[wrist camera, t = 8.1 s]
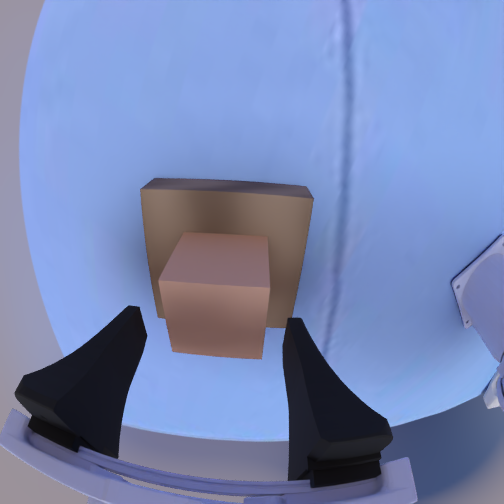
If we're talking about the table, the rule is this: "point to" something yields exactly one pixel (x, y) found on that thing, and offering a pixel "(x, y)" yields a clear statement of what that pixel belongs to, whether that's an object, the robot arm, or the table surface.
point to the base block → (231, 227)
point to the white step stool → (492, 393)
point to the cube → (217, 294)
